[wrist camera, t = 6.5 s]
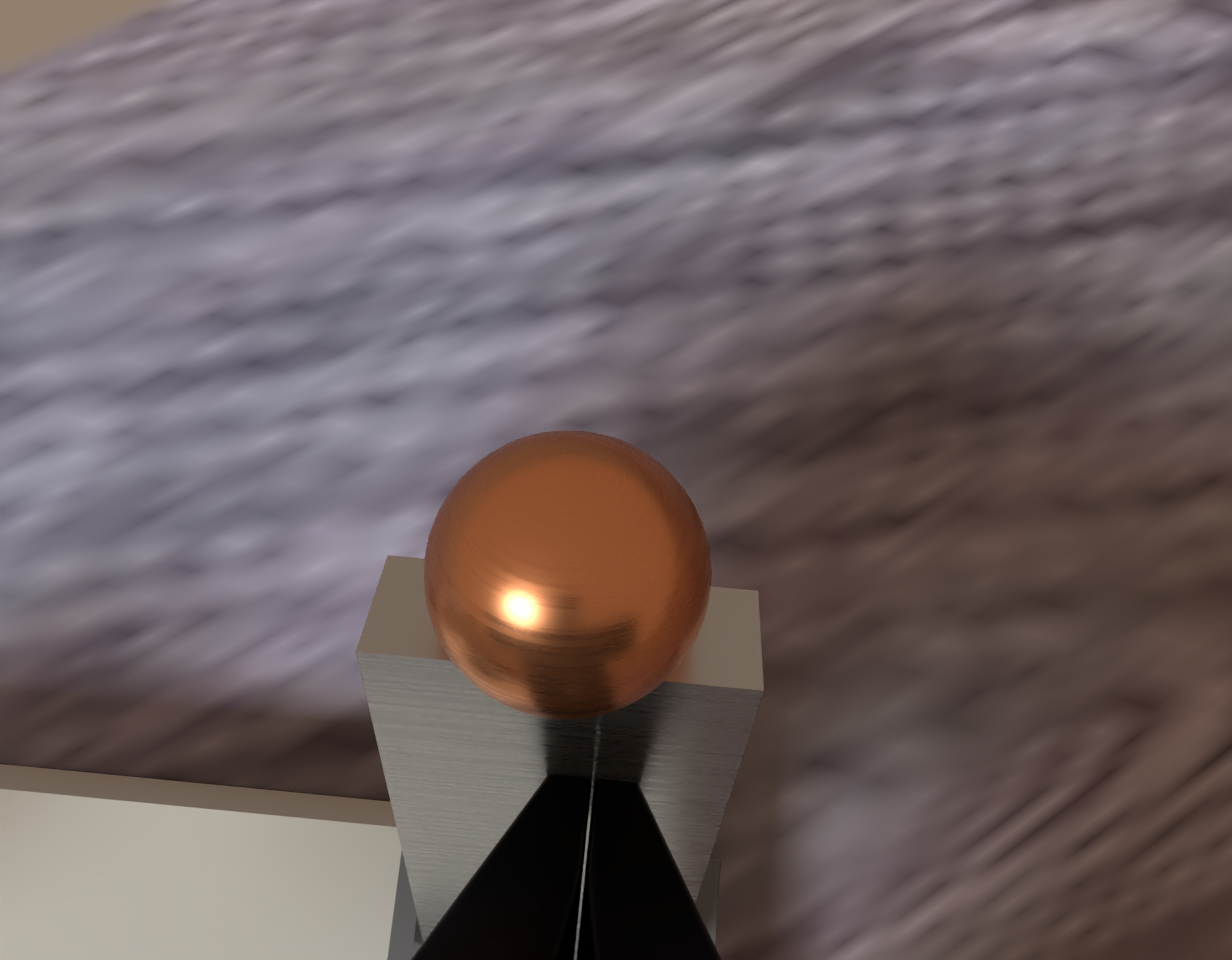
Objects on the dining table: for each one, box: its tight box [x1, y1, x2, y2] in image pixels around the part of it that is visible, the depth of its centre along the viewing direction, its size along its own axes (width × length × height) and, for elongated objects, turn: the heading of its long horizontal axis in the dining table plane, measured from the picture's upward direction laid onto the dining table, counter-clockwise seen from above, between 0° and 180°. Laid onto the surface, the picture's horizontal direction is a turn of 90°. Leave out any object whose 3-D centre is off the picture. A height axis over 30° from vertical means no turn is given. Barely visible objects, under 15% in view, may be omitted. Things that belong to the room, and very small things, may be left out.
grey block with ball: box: [356, 431, 764, 960], centre depth 9 cm, size 2×4×9 cm
